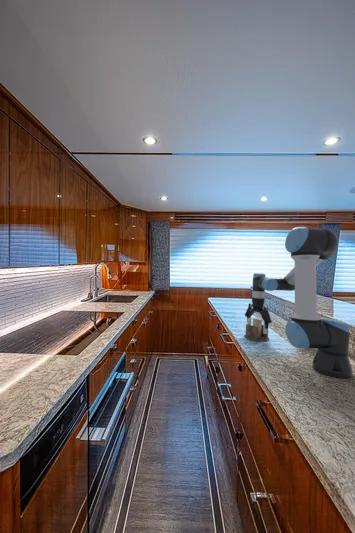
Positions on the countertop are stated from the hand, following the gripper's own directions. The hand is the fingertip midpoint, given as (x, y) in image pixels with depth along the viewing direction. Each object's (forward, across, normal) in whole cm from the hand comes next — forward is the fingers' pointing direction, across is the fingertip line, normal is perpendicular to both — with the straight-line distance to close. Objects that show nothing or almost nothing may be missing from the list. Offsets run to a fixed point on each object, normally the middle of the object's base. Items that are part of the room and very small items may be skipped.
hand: (256, 330), depth 148 cm
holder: (+5, 0, 0) cm, 5 cm away
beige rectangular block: (+4, 0, 0) cm, 4 cm away
